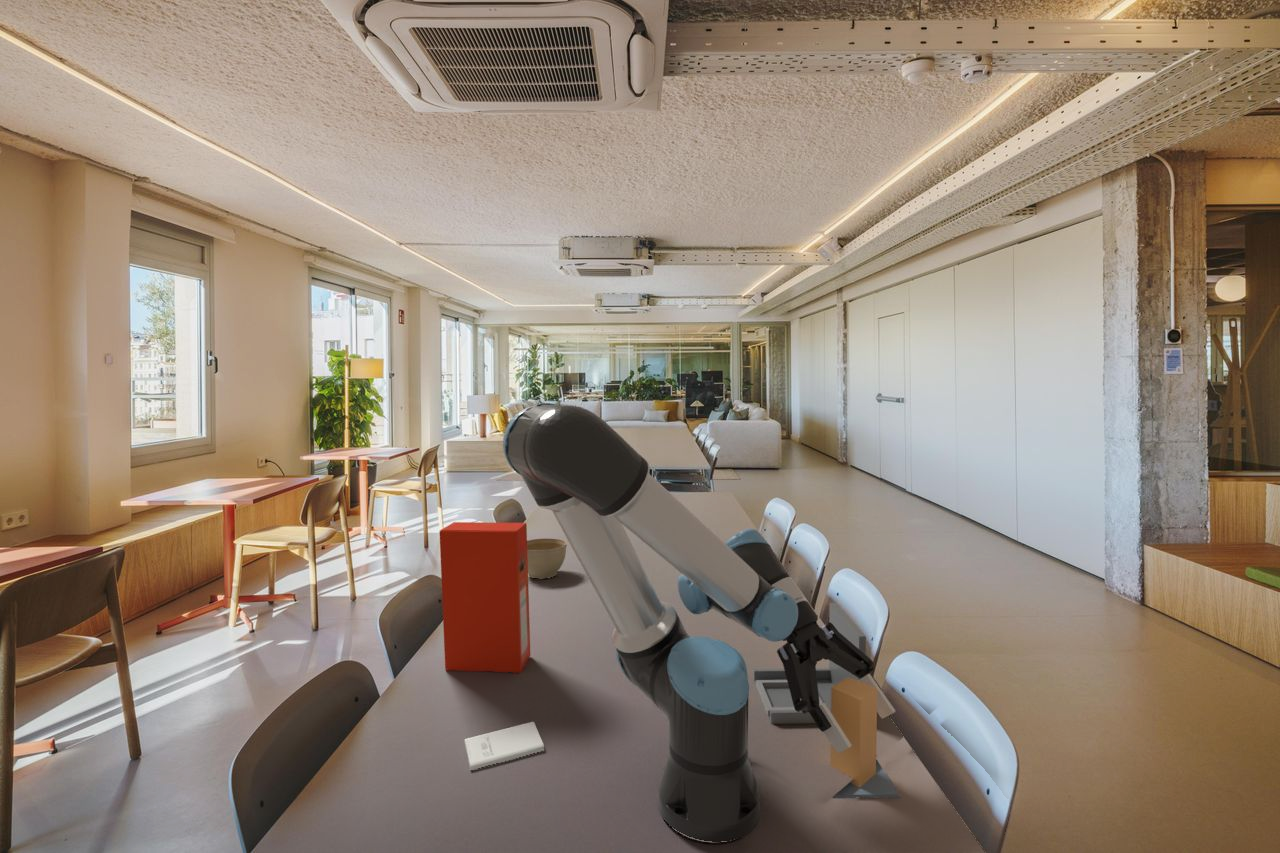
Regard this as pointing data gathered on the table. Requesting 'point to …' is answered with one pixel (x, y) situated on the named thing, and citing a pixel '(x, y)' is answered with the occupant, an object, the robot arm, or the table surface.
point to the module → (855, 729)
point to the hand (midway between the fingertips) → (868, 731)
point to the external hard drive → (503, 745)
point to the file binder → (485, 596)
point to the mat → (870, 787)
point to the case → (777, 688)
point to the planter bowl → (545, 556)
